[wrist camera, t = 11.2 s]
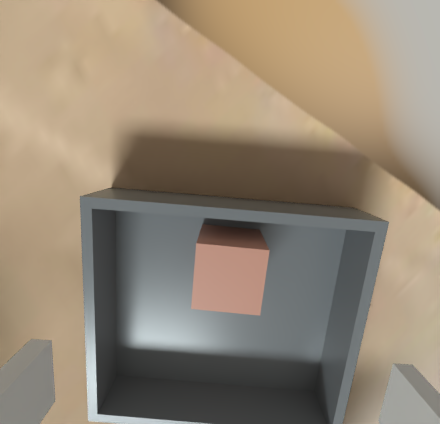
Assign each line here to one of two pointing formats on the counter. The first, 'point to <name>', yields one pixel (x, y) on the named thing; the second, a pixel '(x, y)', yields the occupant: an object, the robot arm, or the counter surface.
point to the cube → (229, 270)
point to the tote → (222, 321)
